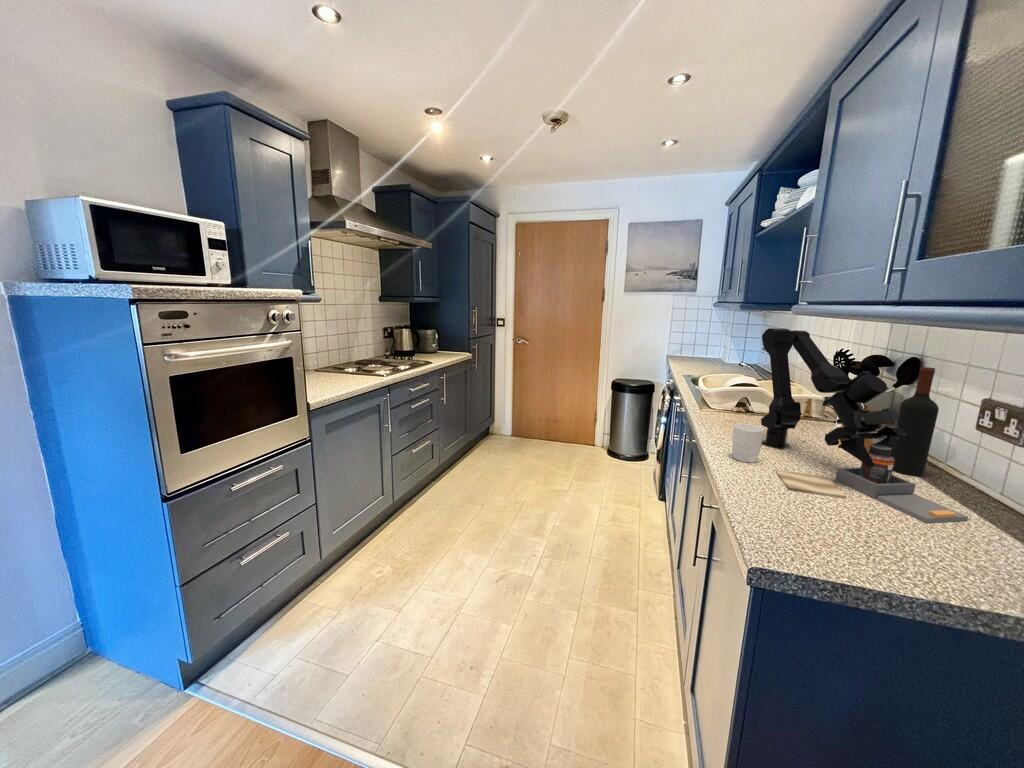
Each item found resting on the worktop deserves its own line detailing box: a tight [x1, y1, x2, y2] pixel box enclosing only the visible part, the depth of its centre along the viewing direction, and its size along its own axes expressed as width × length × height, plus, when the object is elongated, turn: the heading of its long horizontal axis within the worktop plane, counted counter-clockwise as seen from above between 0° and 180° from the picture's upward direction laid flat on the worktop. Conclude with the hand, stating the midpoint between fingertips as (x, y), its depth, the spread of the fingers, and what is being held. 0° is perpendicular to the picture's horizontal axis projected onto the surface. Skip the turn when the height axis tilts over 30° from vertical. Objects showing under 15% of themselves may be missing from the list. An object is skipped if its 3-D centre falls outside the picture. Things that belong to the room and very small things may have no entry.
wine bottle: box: [892, 366, 940, 477], centre depth 113 cm, size 8×8×30 cm
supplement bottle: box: [859, 443, 894, 484], centre depth 103 cm, size 6×6×11 cm
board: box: [775, 469, 847, 499], centre depth 105 cm, size 12×12×1 cm
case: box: [835, 466, 969, 524], centre depth 98 cm, size 22×11×4 cm, turn 7°
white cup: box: [731, 423, 765, 464], centre depth 121 cm, size 8×8×10 cm
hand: (883, 466), depth 101 cm, fingers closed on supplement bottle, 6 cm apart
